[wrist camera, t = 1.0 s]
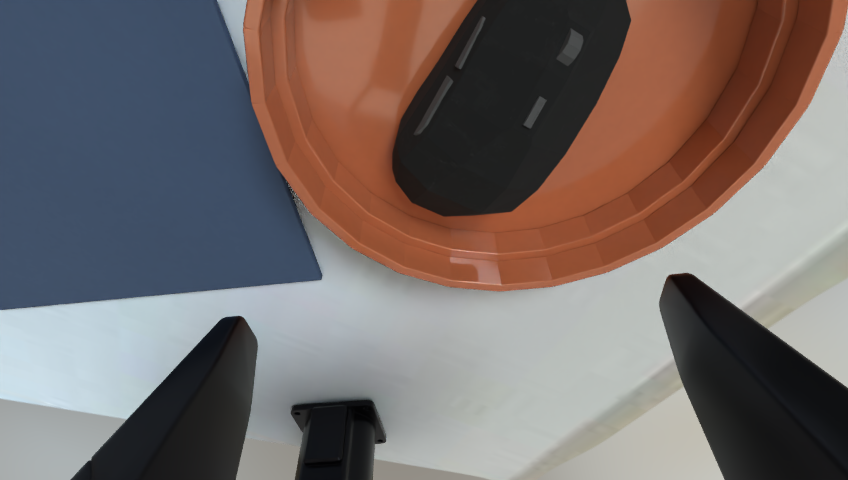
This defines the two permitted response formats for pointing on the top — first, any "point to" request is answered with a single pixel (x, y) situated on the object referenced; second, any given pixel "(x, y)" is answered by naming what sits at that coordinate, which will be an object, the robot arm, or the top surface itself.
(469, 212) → the gaming mouse
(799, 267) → the top surface
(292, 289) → the top surface
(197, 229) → the mouse mat
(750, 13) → the terracotta plant saucer
